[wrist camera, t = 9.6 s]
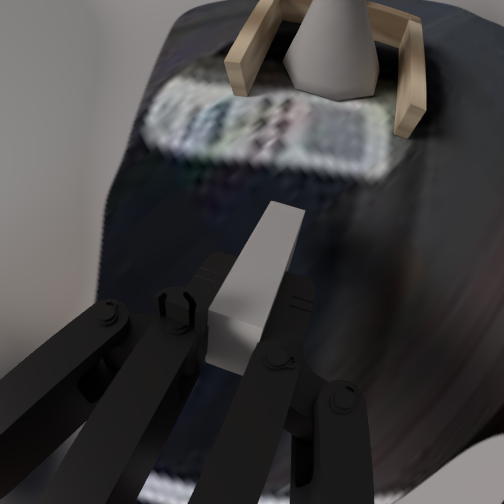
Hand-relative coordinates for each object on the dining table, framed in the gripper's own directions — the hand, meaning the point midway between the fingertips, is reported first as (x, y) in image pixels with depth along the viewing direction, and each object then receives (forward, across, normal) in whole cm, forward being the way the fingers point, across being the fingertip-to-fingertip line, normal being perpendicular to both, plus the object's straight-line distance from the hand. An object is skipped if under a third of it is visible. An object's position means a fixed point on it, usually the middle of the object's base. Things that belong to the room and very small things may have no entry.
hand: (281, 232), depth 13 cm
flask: (+12, 0, -7) cm, 14 cm away
